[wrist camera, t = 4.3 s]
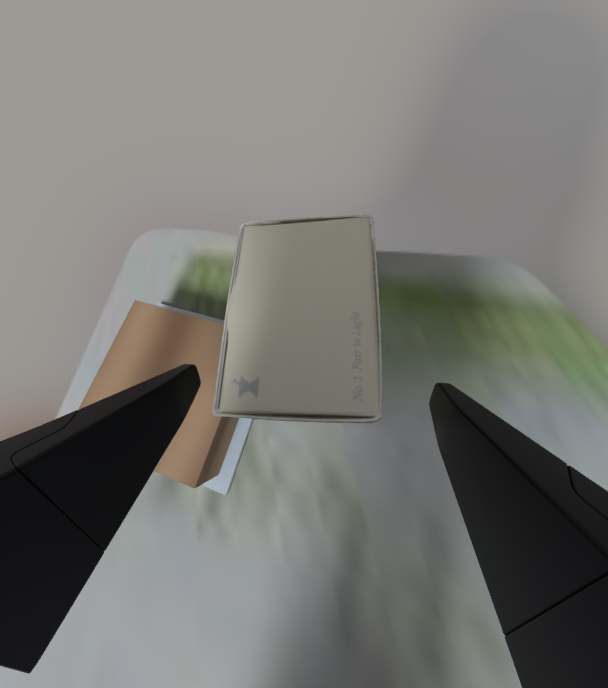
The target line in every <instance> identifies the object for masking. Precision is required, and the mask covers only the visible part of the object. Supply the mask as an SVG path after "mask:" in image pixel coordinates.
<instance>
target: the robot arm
mask: <svg viewBox="0 0 608 688" xmlns="http://www.w3.org/2000/svg"><path fill="white" fill-rule="evenodd" d="M200 385H201V380H200V376H199V373H198V370H197V367H196V366H195V365H194V364H183V365H181V366H178V367H176V368H174V369H171V370H169V371H167V372H164V373H162V374H160V375H157V376H155V377H153V378H150V379H148V380H146V381H144V382H141V383H139V384H137V385H134V386H132V387H130V388H127V389H125V390H123V391H120V392H118V393H116V394H113V395H111V396H109V397H107V398H104V399H102V400H100V401H97V402H95V403H93V404H90V405H88V406H86V407H83V408H81V409H80V410H76V411H74V412H72V413H69V414H67V415H65V416H62V417H60V418H58V419H55V420H53V421H51V422H48V423H46V424H43V425H41V426H38V427H36V428H34V429H31V430H28V431H26V432H23V433H21V434H18V435H16V436H13V437H11V438H8V439H6V440H3V441H0V666H3V667H6V668H10V669H14V670H17V671H21V672H25V673H28V674H29V673H30V672H31V671H32V670H33V668H34V667H35V665H36V664H37V663H38V661H39V659H40V658H41V656H42V655H43V653H44V651H45V650H46V648H47V646H48V645H49V643H50V641H51V640H52V638H53V636H54V635H55V633H56V631H57V630H58V628H59V627H60V625H61V623H62V622H63V620H64V618H65V617H66V615H67V613H68V612H69V610H70V608H71V607H72V605H73V603H74V602H75V600H76V598H77V597H78V595H79V593H80V592H81V590H82V588H83V587H84V585H85V583H86V582H87V580H88V579H89V577H90V575H91V574H92V572H93V570H94V569H95V567H96V565H97V564H98V562H99V560H100V559H101V557H102V555H103V554H104V551H105V550H106V548H107V547H108V545H109V544H110V542H111V540H112V539H113V537H114V535H115V534H116V532H117V530H118V529H119V527H120V525H121V524H122V522H123V520H124V519H125V517H126V515H127V514H128V512H129V510H130V509H131V507H132V506H133V504H134V502H135V501H136V499H137V497H138V496H139V494H140V492H141V491H142V489H143V487H144V486H145V484H146V482H147V481H148V479H149V477H150V476H151V474H152V472H153V471H154V469H155V468H156V466H157V464H158V463H159V461H160V459H161V458H162V456H163V454H164V453H165V451H166V449H167V448H168V446H169V444H170V443H171V441H172V439H173V438H174V436H175V434H176V433H177V431H178V430H179V428H180V426H181V425H182V423H183V421H184V419H185V417H186V415H187V413H188V411H189V409H190V407H191V405H192V403H193V401H194V399H195V397H196V394H197V392H198V390H199V388H200ZM429 406H430V411H431V415H432V420H433V424H434V429H435V433H436V438H437V442H438V446H439V450H440V453H441V456H442V459H443V461H444V464H445V467H446V470H447V473H448V476H449V479H450V481H451V484H452V487H453V490H454V493H455V496H456V499H457V501H458V504H459V507H460V510H461V513H462V516H463V519H464V521H465V524H466V527H467V530H468V533H469V536H470V539H471V542H472V544H473V547H474V550H475V553H476V556H477V559H478V562H479V564H480V567H481V570H482V573H483V576H484V579H485V582H486V584H487V587H488V590H489V593H490V596H491V599H492V602H493V604H494V607H495V610H496V613H497V616H498V619H499V622H500V624H501V627H502V630H503V633H504V635H506V636H505V639H506V642H507V645H508V648H509V651H510V654H511V657H512V659H513V662H514V665H515V668H516V671H517V674H518V677H519V680H520V682H521V685H522V688H608V491H606V490H605V489H603V488H602V487H600V486H599V485H597V484H596V483H594V482H593V481H591V480H590V479H588V478H587V477H586V476H584V475H583V474H581V473H580V472H578V471H577V470H575V469H574V468H572V467H571V466H567V464H566V463H565V462H564V461H562V460H561V459H559V458H558V457H556V456H555V455H553V454H552V453H550V452H549V451H548V450H546V449H545V448H543V447H542V446H540V445H539V444H537V443H536V442H534V441H533V440H531V439H530V438H529V437H527V436H526V435H524V434H523V433H521V432H520V431H518V430H517V429H515V428H514V427H512V426H511V425H510V424H508V423H507V422H505V421H504V420H502V419H501V418H499V417H498V416H496V415H495V414H494V413H492V412H491V411H489V410H488V409H486V408H485V407H483V406H482V405H480V404H479V403H477V402H476V401H475V400H473V399H472V398H470V397H469V396H467V395H466V394H464V393H463V392H461V391H460V390H458V389H457V388H456V387H454V386H453V385H451V384H449V383H436V384H435V386H434V389H433V392H432V395H431V398H430V402H429Z"/></svg>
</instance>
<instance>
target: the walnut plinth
mask: <svg viewBox="0 0 608 688" xmlns="http://www.w3.org/2000/svg"><path fill="white" fill-rule="evenodd" d="M223 330H224V324H221V323H218V322H214V321H210V320H207V319H203V318H199V317H196V316H192V315H188V314H185V313H181V312H177V311H173V310H170V309H166V308H162V307H159V306H155V305H151V304H148V303H144V302H140V301H137V300H135V301H134V303H133V305H132V307H131V309H130V311H129V313H128V315H127V317H126V319H125V321H124V322H123V324H122V326H121V328H120V330H119V332H118V334H117V336H116V338H115V340H114V342H113V344H112V346H111V348H110V349H109V351H108V353H107V355H106V357H105V359H104V361H103V363H102V365H101V367H100V369H99V371H98V373H97V375H96V377H95V378H94V380H93V382H92V384H91V386H90V388H89V390H88V392H87V394H86V396H85V398H84V400H83V402H82V404H81V406H80V407H79V409H78V410H80V409H81V408H83V407H86V406H88V405H90V404H93V403H95V402H97V401H100V400H102V399H104V398H107V397H109V396H111V395H113V394H116V393H118V392H120V391H123V390H125V389H127V388H130V387H132V386H134V385H137V384H139V383H141V382H144V381H146V380H148V379H150V378H153V377H155V376H157V375H160V374H162V373H164V372H167V371H169V370H171V369H174V368H176V367H178V366H181V365H183V364H194V365H195V366H196V367H197V370H198V373H199V376H200V380H201V385H200V388H199V390H198V392H197V394H196V397H195V399H194V401H193V403H192V405H191V407H190V409H189V411H188V413H187V415H186V417H185V419H184V421H183V423H182V425H181V426H180V428H179V430H178V431H177V433H176V434H175V436H174V438H173V439H172V441H171V443H170V444H169V446H168V448H167V449H166V451H165V453H164V454H163V456H162V458H161V459H160V461H159V463H158V464H157V466H156V468H155V469H154V471H156V472H158V473H160V474H163V475H165V476H167V477H169V478H172V479H174V480H176V481H179V482H181V483H183V484H185V485H188V486H190V487H192V488H196V487H198V486H200V485H202V484H203V483H205V482H207V481H209V480H211V479H212V478H214V477H216V476H218V475H219V473H220V470H221V467H222V464H223V461H224V459H225V456H226V453H227V450H228V448H229V445H230V442H231V439H232V436H233V434H234V431H235V428H236V425H237V422H238V420H239V418H237V417H223V416H214V415H213V403H214V397H215V391H216V381H217V375H218V366H219V359H220V352H221V345H222V336H223Z"/></svg>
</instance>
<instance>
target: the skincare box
mask: <svg viewBox="0 0 608 688" xmlns="http://www.w3.org/2000/svg"><path fill="white" fill-rule="evenodd" d="M213 415H214V416H223V417H237V418H249V419H264V420H280V421H302V422H337V423H373V422H377V421H378V420H380V419H381V415H382V348H381V325H380V307H379V288H378V274H377V259H376V248H375V234H374V226H373V218H372V217H371V216H368V215H362V216H341V217H317V218H301V219H300V218H299V219H284V220H283V219H281V220H269V221H268V220H266V221H265V220H264V221H249V222H245V223H243V224H242V225H241V226H240V229H239V235H238V241H237V247H236V252H235V258H234V265H233V270H232V277H231V283H230V288H229V294H228V300H227V307H226V314H225V322H224V330H223V336H222V345H221V352H220V359H219V366H218V375H217V381H216V391H215V397H214V403H213Z"/></svg>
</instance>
